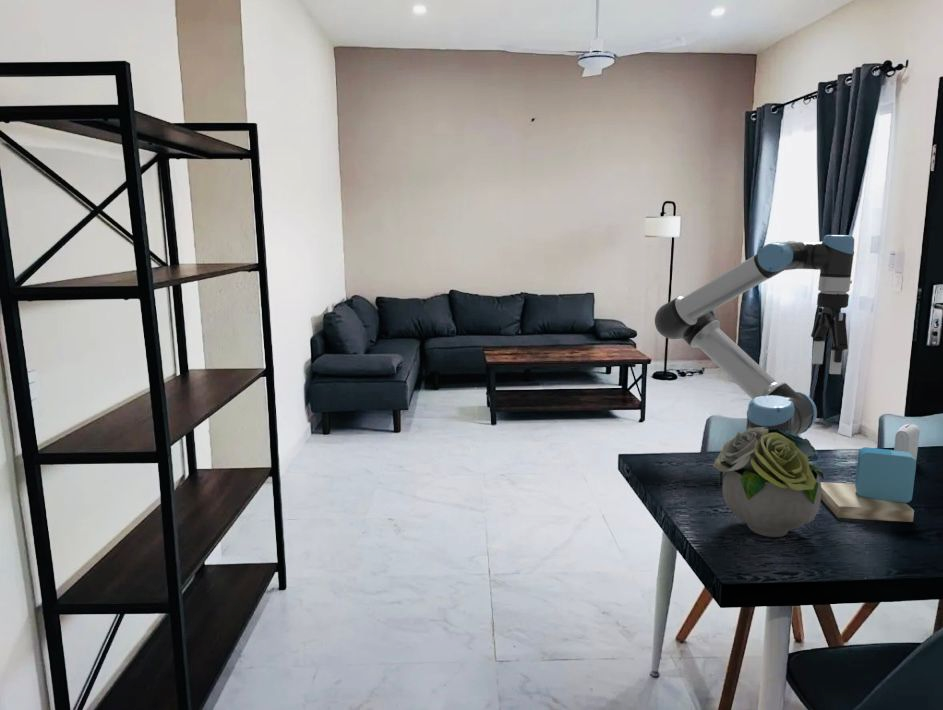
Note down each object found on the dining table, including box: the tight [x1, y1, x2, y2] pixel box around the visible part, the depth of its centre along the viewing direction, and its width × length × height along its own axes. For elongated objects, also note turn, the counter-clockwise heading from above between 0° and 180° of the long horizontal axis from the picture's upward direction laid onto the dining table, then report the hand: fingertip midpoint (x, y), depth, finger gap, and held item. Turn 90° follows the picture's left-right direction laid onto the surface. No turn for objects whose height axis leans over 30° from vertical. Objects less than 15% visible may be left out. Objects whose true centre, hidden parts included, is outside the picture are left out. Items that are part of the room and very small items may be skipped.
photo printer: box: [893, 423, 921, 462], centre depth 203 cm, size 10×4×12 cm, turn 130°
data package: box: [854, 447, 917, 504], centre depth 171 cm, size 12×4×12 cm, turn 65°
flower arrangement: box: [712, 427, 824, 538], centre depth 158 cm, size 25×25×24 cm
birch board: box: [821, 481, 915, 523], centre depth 173 cm, size 17×16×3 cm
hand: (825, 368), depth 189 cm, fingers open, 13 cm apart
